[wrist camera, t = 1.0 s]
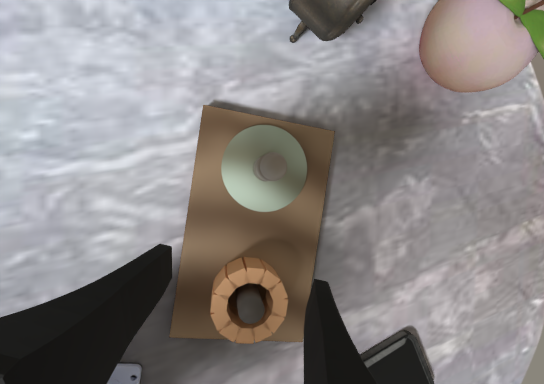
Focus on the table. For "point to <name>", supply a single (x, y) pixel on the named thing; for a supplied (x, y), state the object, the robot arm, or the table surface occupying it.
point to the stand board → (251, 217)
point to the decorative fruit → (480, 41)
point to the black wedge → (398, 361)
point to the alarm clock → (327, 16)
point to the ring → (228, 315)
